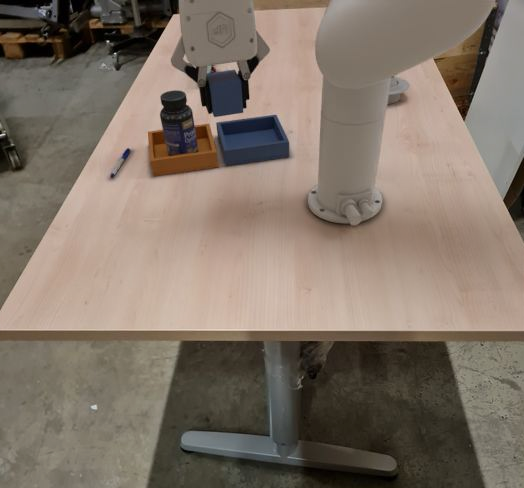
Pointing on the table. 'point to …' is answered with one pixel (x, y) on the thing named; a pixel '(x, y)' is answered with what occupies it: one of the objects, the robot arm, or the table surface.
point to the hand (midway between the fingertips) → (225, 106)
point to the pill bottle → (178, 124)
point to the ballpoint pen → (120, 162)
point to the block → (225, 93)
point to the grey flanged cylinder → (396, 89)
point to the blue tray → (252, 140)
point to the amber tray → (184, 162)
